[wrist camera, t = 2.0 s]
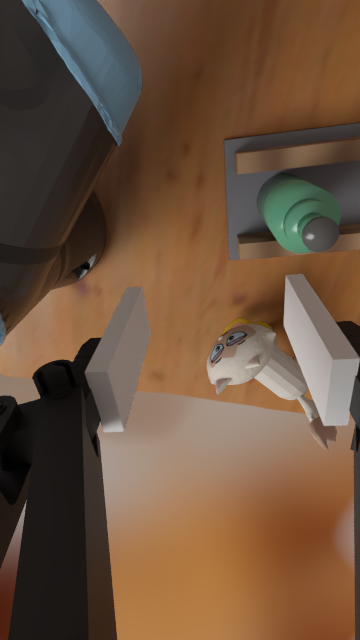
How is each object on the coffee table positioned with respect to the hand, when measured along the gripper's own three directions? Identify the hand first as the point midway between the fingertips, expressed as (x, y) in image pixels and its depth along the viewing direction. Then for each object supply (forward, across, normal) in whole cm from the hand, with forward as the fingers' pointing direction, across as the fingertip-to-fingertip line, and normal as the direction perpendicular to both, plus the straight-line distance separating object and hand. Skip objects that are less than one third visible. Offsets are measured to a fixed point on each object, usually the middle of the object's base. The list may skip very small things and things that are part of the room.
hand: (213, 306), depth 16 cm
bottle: (+25, +8, 0) cm, 26 cm away
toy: (+25, +7, -19) cm, 32 cm away
